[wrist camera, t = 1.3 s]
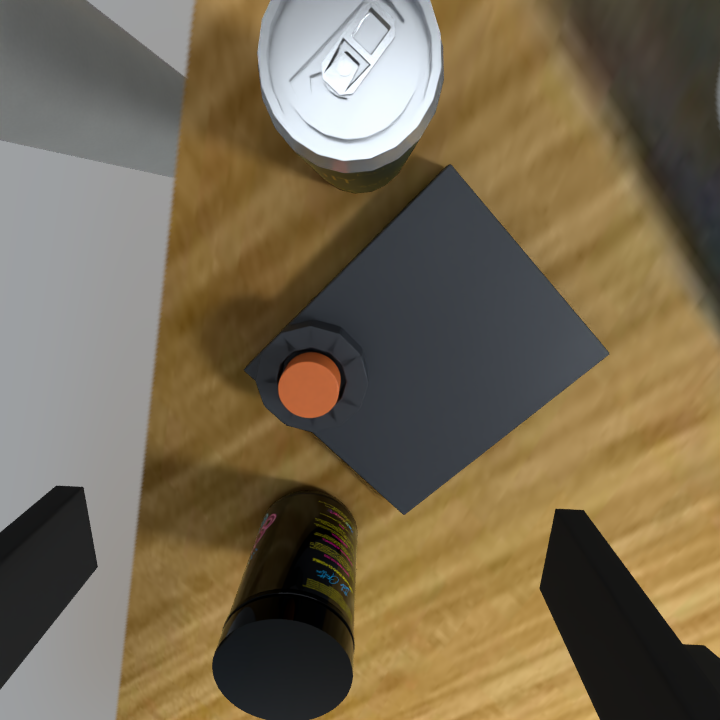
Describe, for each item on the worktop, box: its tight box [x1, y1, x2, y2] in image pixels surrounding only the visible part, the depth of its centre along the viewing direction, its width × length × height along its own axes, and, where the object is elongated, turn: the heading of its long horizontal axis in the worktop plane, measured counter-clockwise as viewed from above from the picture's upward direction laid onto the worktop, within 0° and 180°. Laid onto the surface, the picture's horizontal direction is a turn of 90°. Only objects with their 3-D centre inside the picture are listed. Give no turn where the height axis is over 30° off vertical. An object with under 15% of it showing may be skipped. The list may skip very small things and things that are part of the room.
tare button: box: [278, 352, 341, 418], centre depth 24 cm, size 3×3×2 cm
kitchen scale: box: [244, 164, 609, 515], centre depth 25 cm, size 14×16×3 cm
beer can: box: [257, 0, 444, 193], centre depth 17 cm, size 5×5×12 cm
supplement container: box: [212, 491, 357, 720], centre depth 26 cm, size 7×7×10 cm
